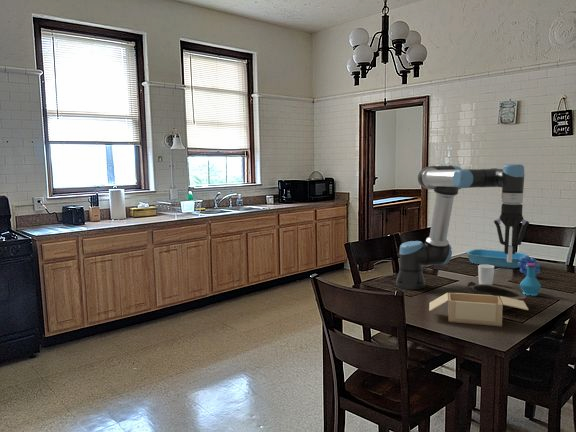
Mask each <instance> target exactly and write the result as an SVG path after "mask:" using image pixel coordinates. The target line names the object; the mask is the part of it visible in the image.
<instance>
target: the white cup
mask: <svg viewBox="0 0 576 432" xmlns="http://www.w3.org/2000/svg"><path fill="white" fill-rule="evenodd" d="M477 269H478V270H477V271H478V272H477V273H478V285H479V284H490V285H494V275H495V267H494V266H493V265H487V264H481V265H478V264H477Z"/></svg>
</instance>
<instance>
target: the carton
mask: <svg viewBox="0 0 576 432" xmlns="http://www.w3.org/2000/svg"><path fill="white" fill-rule="evenodd" d="M448 298H449V301H447V319H448V323H458V324H465V325H466V324H467V325H469V324H470V325H479V326H491V327H503V311H504V310H503V304H502V302H501V300H500V297H499V296H492V295H481V294H473V293H464V292H448Z"/></svg>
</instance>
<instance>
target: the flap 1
mask: <svg viewBox="0 0 576 432" xmlns="http://www.w3.org/2000/svg"><path fill="white" fill-rule="evenodd" d="M448 293H449V292H446V293H444V294H443V295H441V296H438V297H437V298H435V299H434V300H432V301H429V304H428V305H429V308H428V311H429V312H432V311H433V310H435V309H437V308H439V307H441V306H442V305H444V304H445V303H448V301H449V298H448Z"/></svg>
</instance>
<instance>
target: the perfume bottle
mask: <svg viewBox="0 0 576 432" xmlns="http://www.w3.org/2000/svg"><path fill="white" fill-rule="evenodd" d="M526 265H527V276H526V275H525V276H524V278H523V280H522V281H521V282H520V283H519V287H520V288H521V291H522V293H523V294H526V296H530V295H531V296H533V297H534V296H535V297H536V296H538V294H539V293H540V292H539V291H540V290H541V288H542V284H541V283H540V281H539V280H538V278H537V276H536V277H535V268H536V267H535V266H537V265H536V264H534V263H527V264H526Z"/></svg>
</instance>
